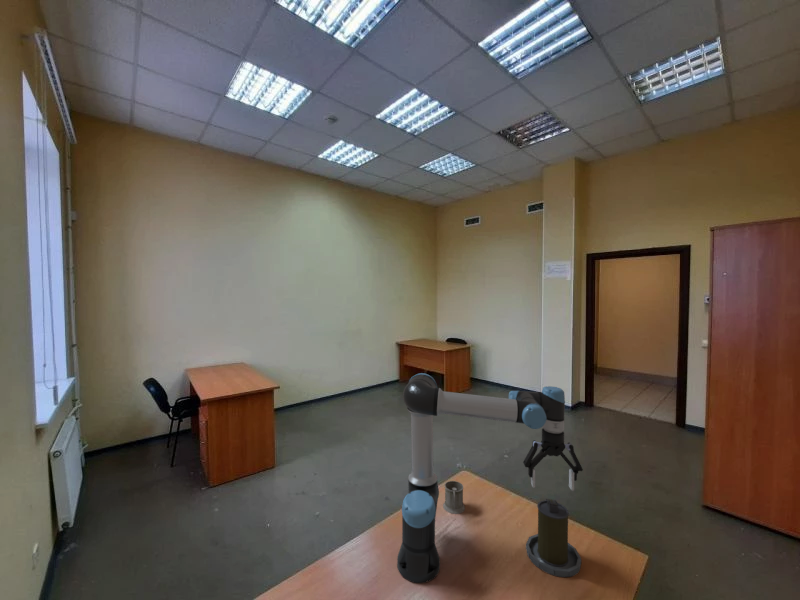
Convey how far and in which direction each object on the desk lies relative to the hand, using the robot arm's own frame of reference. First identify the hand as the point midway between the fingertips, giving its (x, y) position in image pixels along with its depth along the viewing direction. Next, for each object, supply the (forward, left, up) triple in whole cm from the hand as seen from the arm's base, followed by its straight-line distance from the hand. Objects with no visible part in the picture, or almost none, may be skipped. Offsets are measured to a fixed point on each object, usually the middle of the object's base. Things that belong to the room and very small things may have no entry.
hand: (552, 487), depth 122 cm
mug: (-35, +23, -26) cm, 49 cm away
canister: (0, 0, -25) cm, 25 cm away
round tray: (0, 0, -26) cm, 26 cm away
